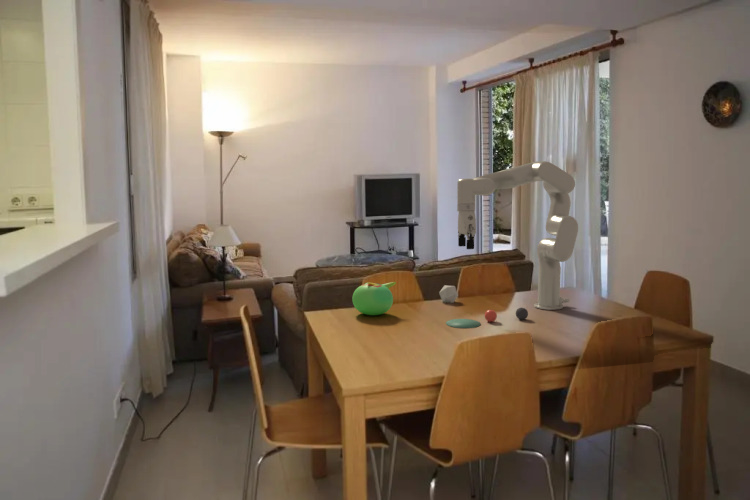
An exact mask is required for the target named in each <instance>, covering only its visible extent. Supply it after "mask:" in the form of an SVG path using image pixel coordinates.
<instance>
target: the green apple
mask: <svg viewBox="0 0 750 500" xmlns="http://www.w3.org/2000/svg"><path fill="white" fill-rule="evenodd" d="M396 284H397V282H396V281H393V282H388V283H387V282H386V283H383V284H380V283H377V282H376V283H375V282H374V283H373V282H365V283H364V284H362V285H359V286H358V287H357V288H356V289H355V290H354V292H353V294H352V298H351V299H352V304H353V305H352V306H354V308H355V309H356V310H357V311H358V312H360V313H362V314H363V315H367V316H381V315H383V314H385V313H387V312H388V311H389V310H390V309H391V308H392V306H393V304H394V296H393V293H392V291H391V290H390V288H391V287H393V286H394V285H396Z"/></svg>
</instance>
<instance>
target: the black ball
mask: <svg viewBox="0 0 750 500" xmlns="http://www.w3.org/2000/svg"><path fill="white" fill-rule="evenodd" d="M528 312H529V311H528V310H527V308H526V307H519V308H517V309H516V310H515V316H516V318H517V319H518V320H522V321H523V320H526V319H527V318H528V317H529V313H528Z"/></svg>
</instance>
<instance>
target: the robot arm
mask: <svg viewBox="0 0 750 500" xmlns="http://www.w3.org/2000/svg"><path fill="white" fill-rule="evenodd" d="M534 182H542V185H543V189H544V190H545V191H546V192H547V194H548V196H549V198H550V205H549V211H548V214H547V219H546V222H545V230H546V232H547V233H548V234H550V235H551V236H555V238H554V237H545V238H542V239H541V240H540V241H539V242H538V244H537V247H536V251H537V252H536V253H537V259H538V281H537V283H538V284H537V302H535V303H534V304H533V306H534V307H535V308H536V309H540V310H548V311H557V310H562V309H563V308H564V303H570V298H569V297H565V298H564V297H561V274H562V273H561V271H562V270H561V269H562V268H561V263H563V262H567V261H568V260H569V259H570V258H572V257H571V256H573V252H574V250H575V249H574V248H575V245H576V241H577V238H578V233H579V223H578V221H577V220H576V219H575V217H573V216H571V215H569V214H570V209H571V198H570V195H569V193H571V192H573V190H574V189H575V187H576V180H575V178H574V177H573V176H572V175H571V174H570V173H568V172H566V171H565V170H563V169H562V168H560V167H558V166H556V164H553V163H552V162H550V161H547V160H546V161H542V160H541V161H532V162H529V163H525V164H522V165H518V166H515V167H514V166H513V167H511V168H507V169H502V170H500V171H496V172H491V173H487V174H484V175H480V176H477V177H474V178H459V179H458V181H457V189H456V190H457V192H456V193H457V197H456V199H457V207H456V208H457V210H456V212H458V216H457V234H458V235H457V238H458V240H457V241H458V245H457V246H458V247H466V250H474V249H475V239H476V238H475V237H476V236H475V235H476V233H477V222H476V220H477V218H476V196H484V197H485V196H490V195H491V194H493V193H494V192H495V190H503V189H504V190H505V189H507V190H508V189H515V188H518V187H521V186H525V185H528V184H532V183H534Z"/></svg>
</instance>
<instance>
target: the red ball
mask: <svg viewBox="0 0 750 500" xmlns="http://www.w3.org/2000/svg"><path fill="white" fill-rule="evenodd" d="M497 317H498V314H497V312H496V311H495V310H493V309H488V310H486V311H485V313H484V320H486V321H487V322H488V323H489V322H490V323H493V322H495V321H496V320H497V319H498V318H497Z"/></svg>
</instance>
